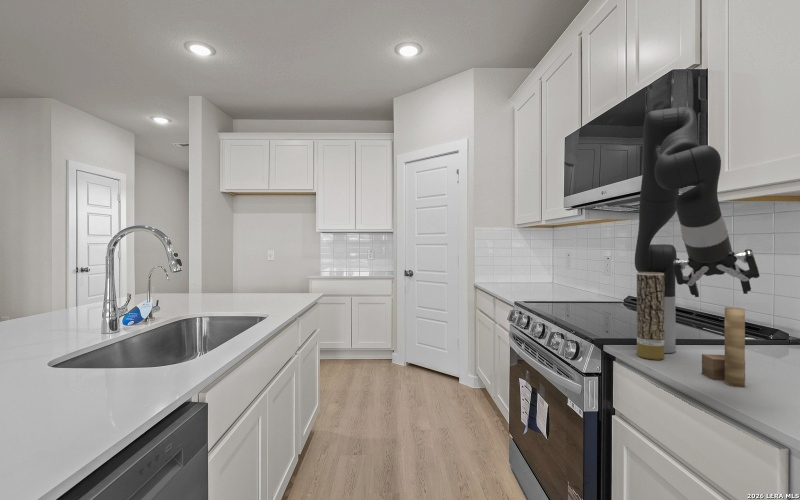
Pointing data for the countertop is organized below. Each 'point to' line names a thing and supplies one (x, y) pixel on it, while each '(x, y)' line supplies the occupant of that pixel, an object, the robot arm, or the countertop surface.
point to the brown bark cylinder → (650, 315)
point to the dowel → (735, 346)
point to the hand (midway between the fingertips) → (720, 293)
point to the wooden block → (713, 366)
